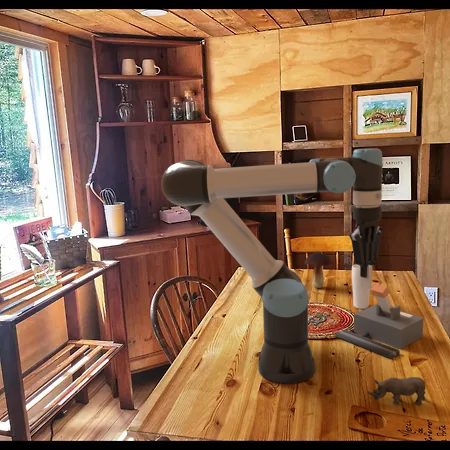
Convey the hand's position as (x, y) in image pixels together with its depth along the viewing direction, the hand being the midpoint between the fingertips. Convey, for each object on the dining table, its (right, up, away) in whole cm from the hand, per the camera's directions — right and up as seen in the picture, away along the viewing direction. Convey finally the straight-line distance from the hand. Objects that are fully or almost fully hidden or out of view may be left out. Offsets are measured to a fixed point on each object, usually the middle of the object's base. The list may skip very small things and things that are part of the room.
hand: (366, 287), depth 126 cm
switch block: (+10, -16, +11) cm, 22 cm away
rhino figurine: (0, -23, -23) cm, 33 cm away
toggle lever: (+10, -9, +9) cm, 16 cm away
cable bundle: (+3, -17, +5) cm, 18 cm away
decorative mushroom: (-2, -8, +55) cm, 56 cm away
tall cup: (+9, -12, +33) cm, 36 cm away
